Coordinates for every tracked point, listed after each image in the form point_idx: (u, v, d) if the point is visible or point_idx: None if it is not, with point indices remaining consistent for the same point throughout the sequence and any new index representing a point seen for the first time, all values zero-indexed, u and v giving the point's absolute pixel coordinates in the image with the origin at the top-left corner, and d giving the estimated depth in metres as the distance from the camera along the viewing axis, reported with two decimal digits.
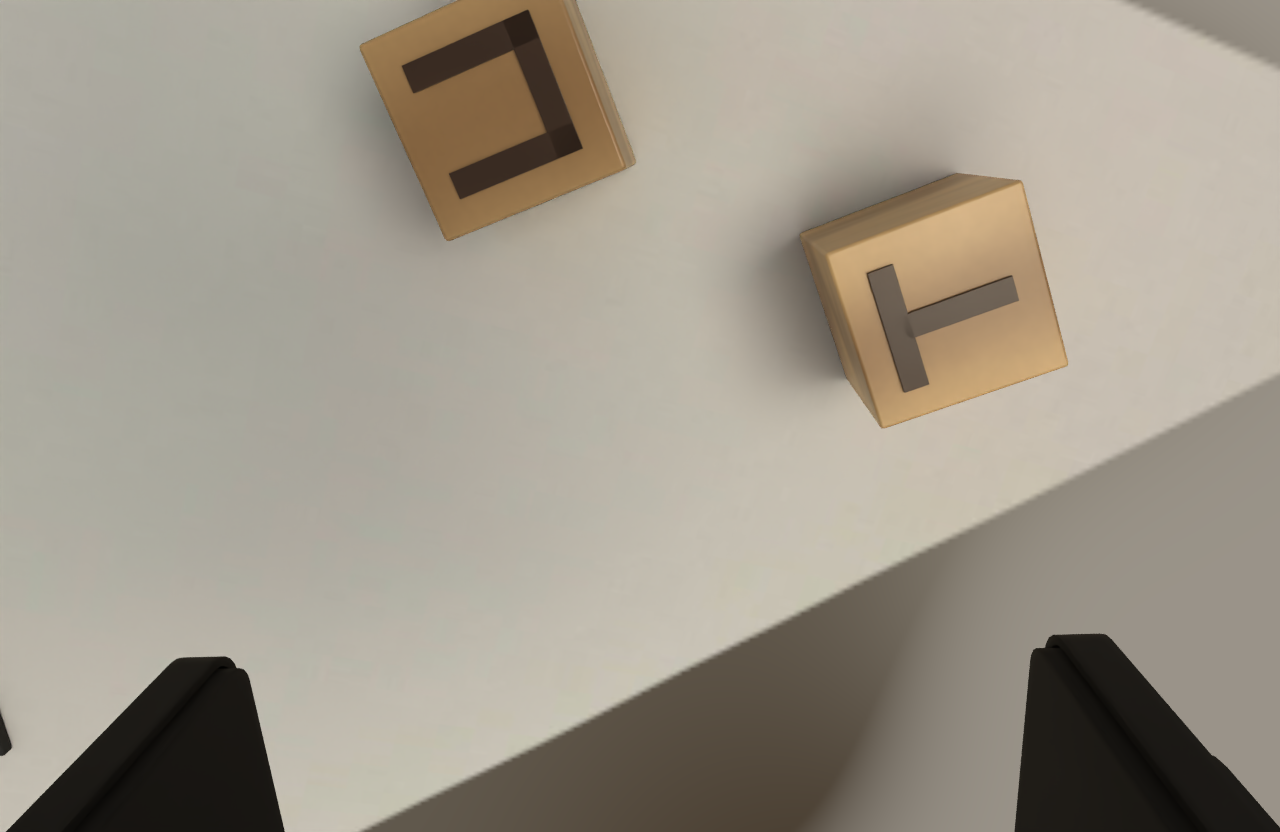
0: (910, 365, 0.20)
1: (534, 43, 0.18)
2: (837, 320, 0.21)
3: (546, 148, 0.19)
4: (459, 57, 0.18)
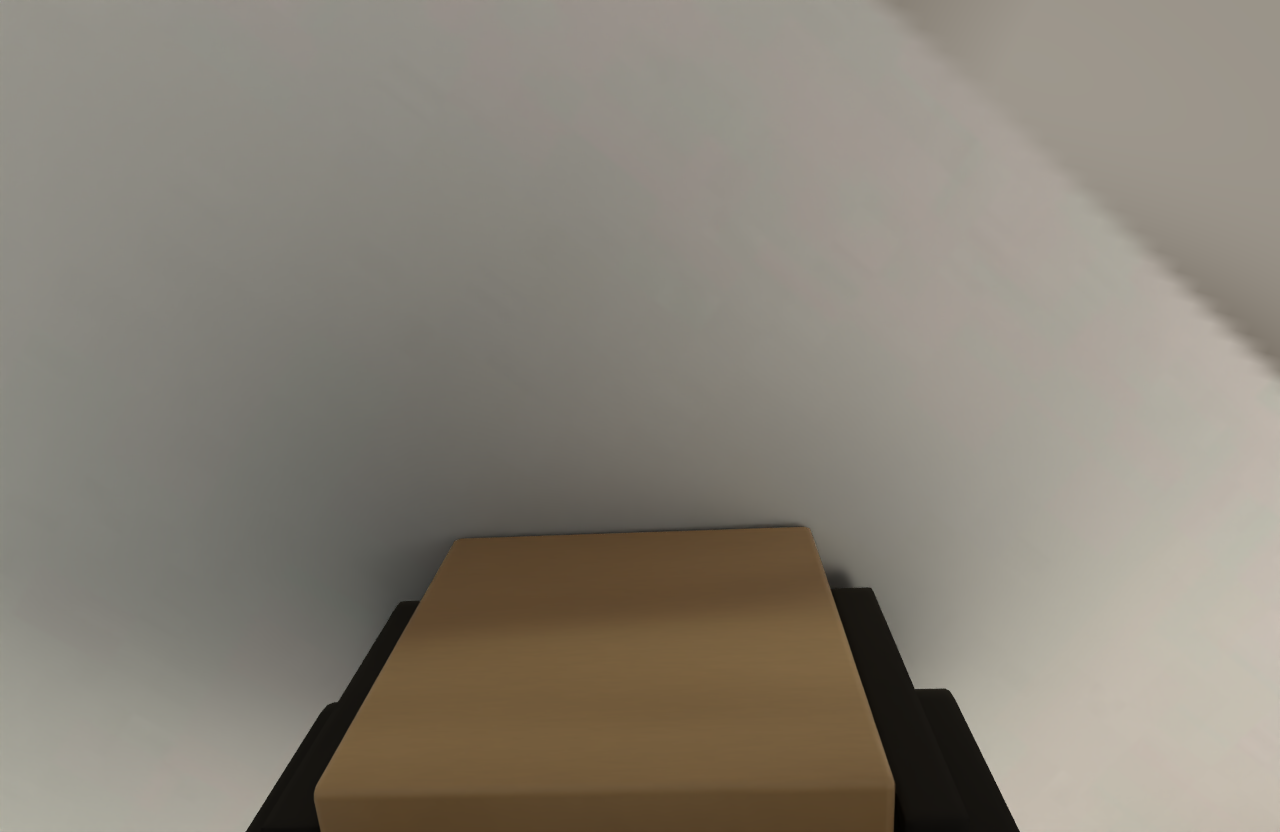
0: None
1: None
2: None
3: None
4: None
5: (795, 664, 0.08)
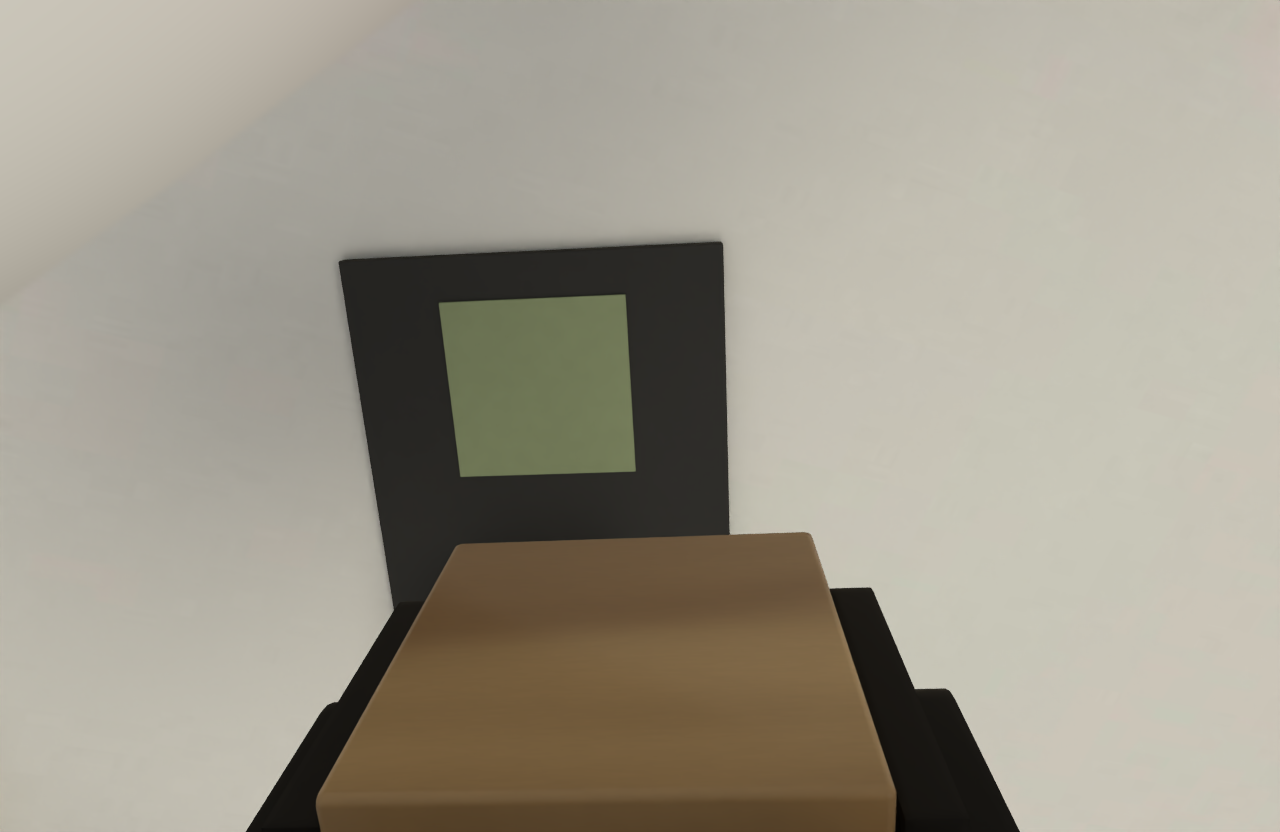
0: None
1: None
2: None
3: None
4: None
5: (795, 672, 0.08)
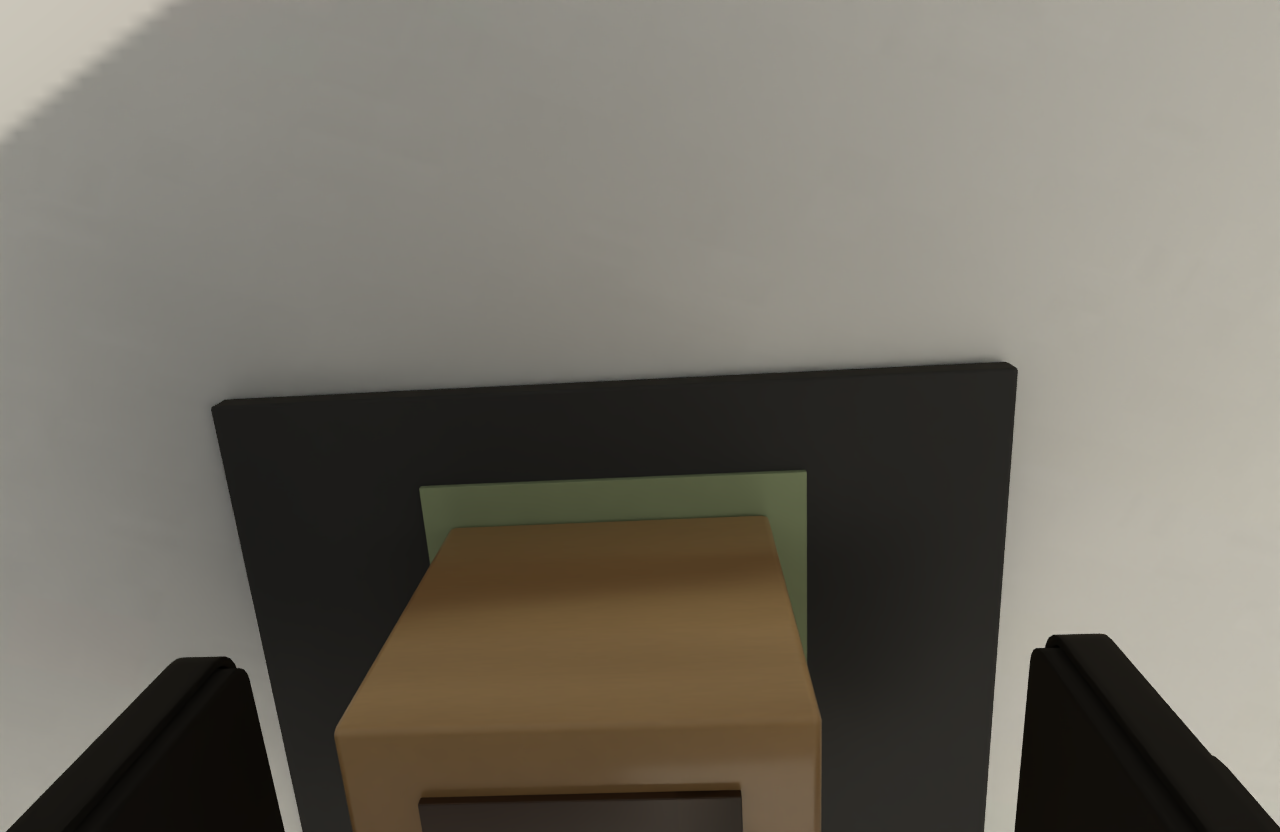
0: None
1: None
2: None
3: None
4: (553, 830, 0.08)
5: (745, 628, 0.09)
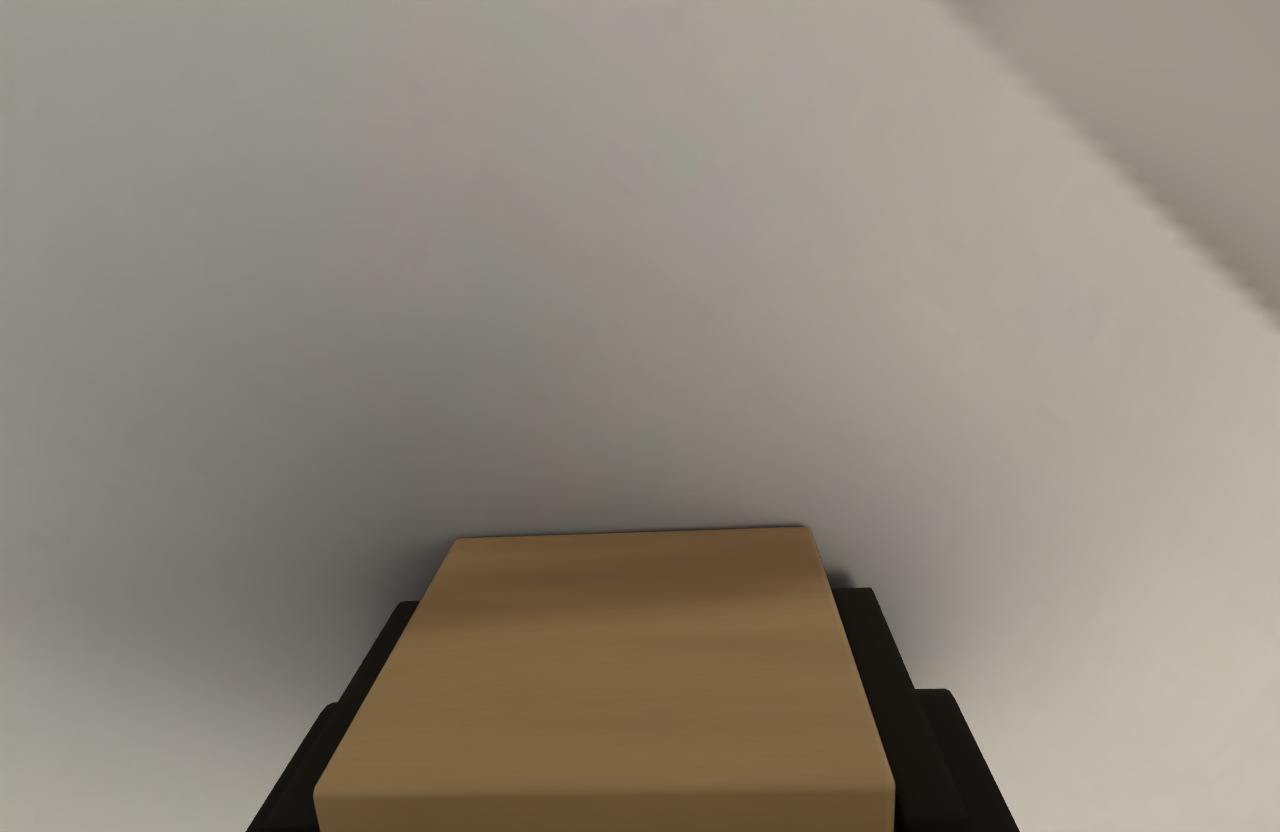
0: None
1: None
2: None
3: None
4: None
5: None
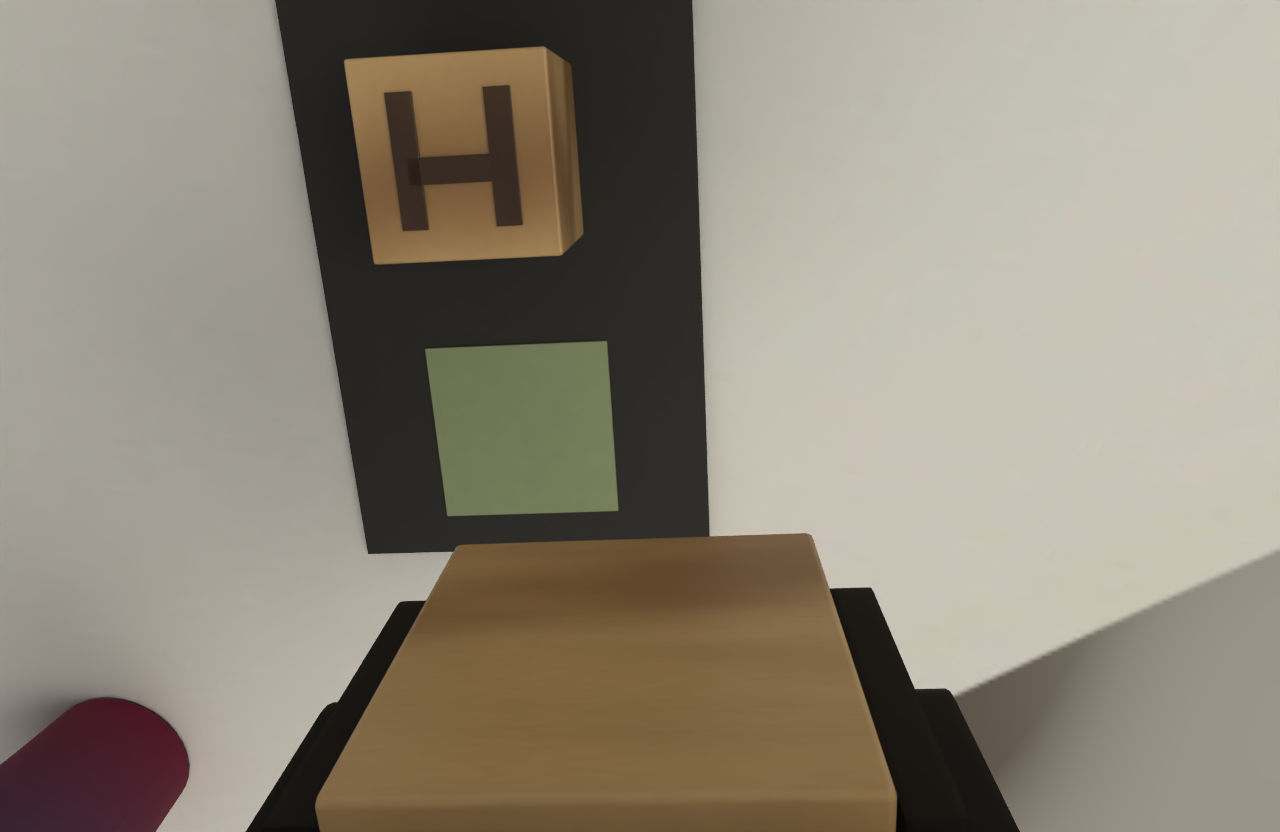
0: None
1: None
2: None
3: None
4: None
5: None
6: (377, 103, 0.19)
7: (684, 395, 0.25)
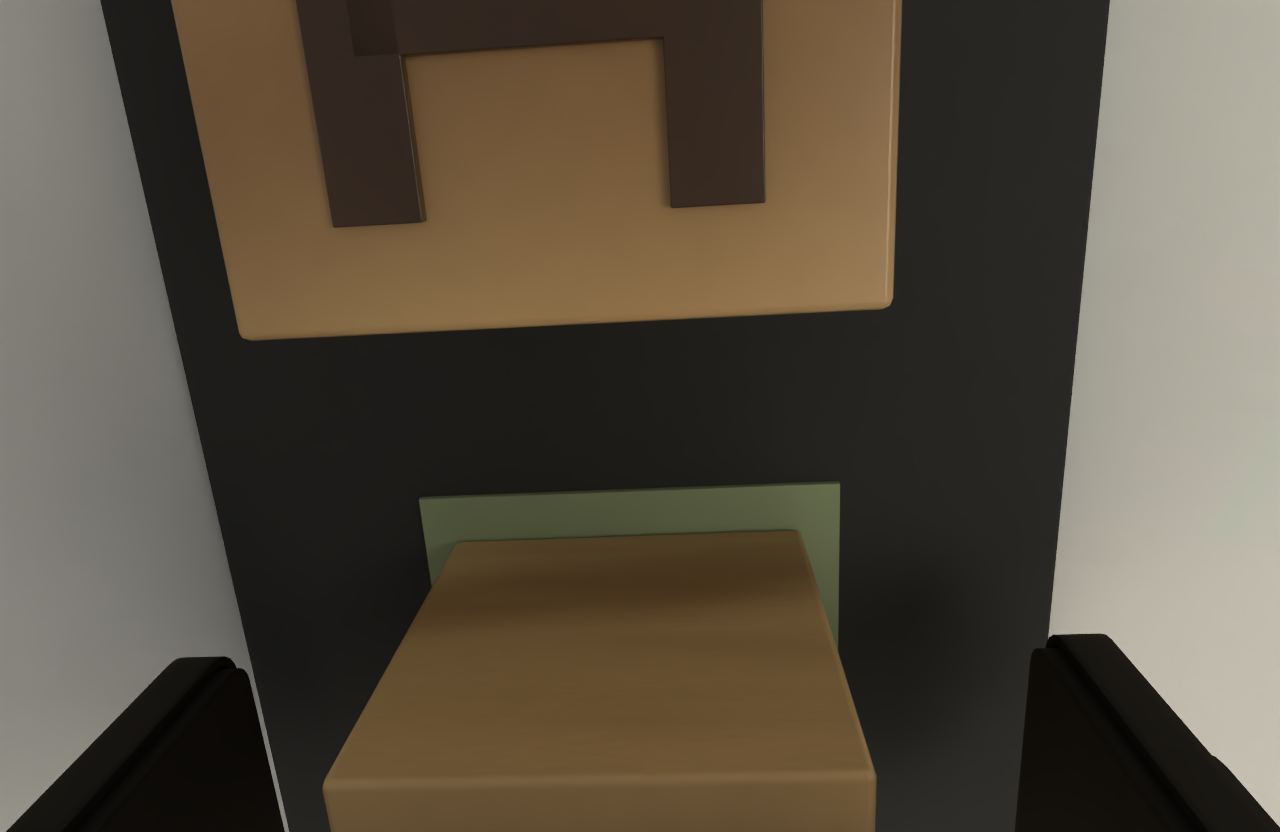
0: None
1: None
2: None
3: None
4: None
5: None
6: None
7: (1005, 600, 0.11)
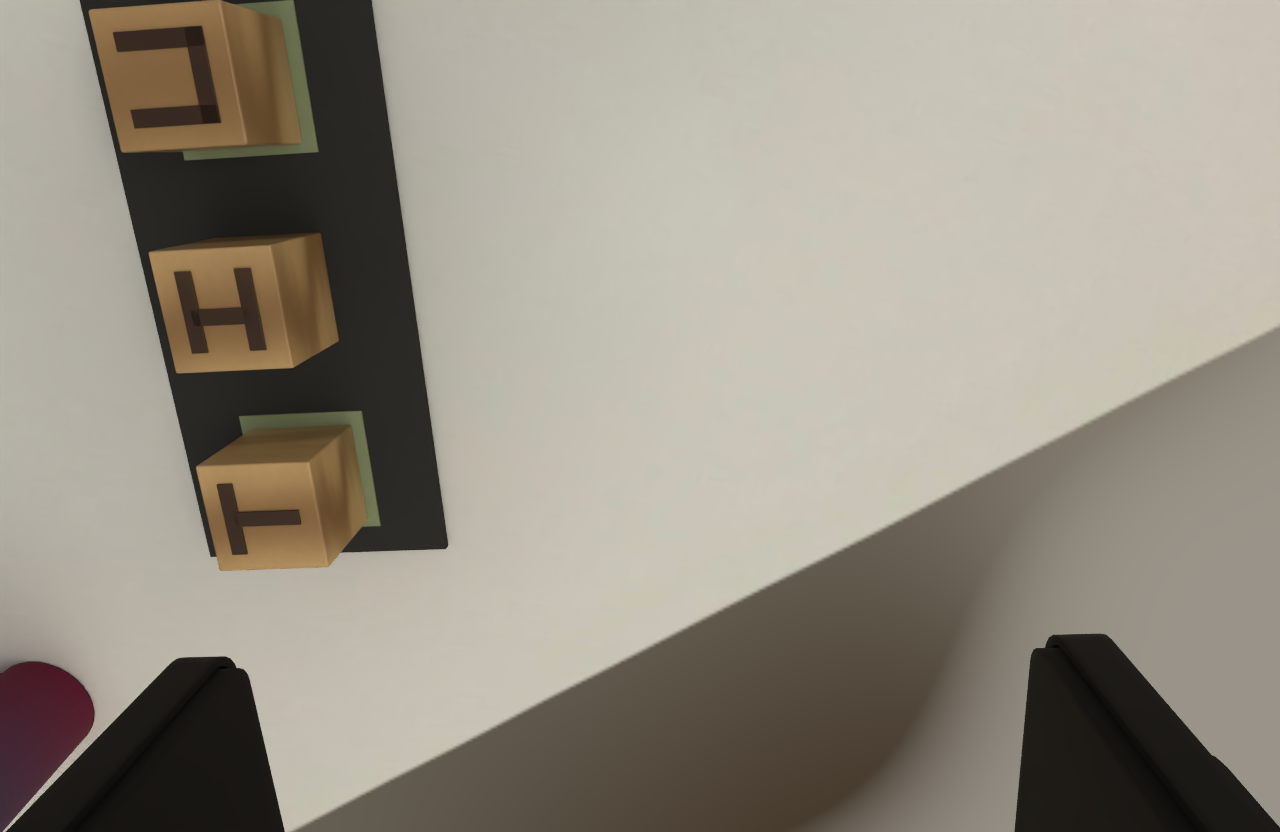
0: (238, 540, 0.34)
1: (201, 48, 0.28)
2: None
3: (198, 115, 0.29)
4: (151, 40, 0.28)
5: None
6: (170, 277, 0.31)
7: (417, 447, 0.37)
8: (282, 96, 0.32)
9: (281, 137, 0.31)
